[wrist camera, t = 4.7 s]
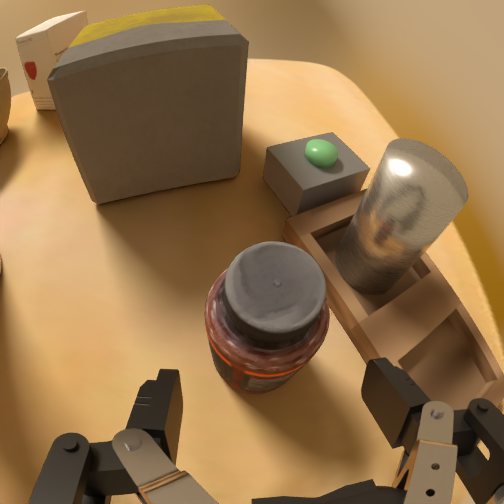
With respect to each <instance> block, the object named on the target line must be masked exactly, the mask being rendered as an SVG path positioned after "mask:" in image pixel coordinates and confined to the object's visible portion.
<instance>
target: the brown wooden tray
mask: <svg viewBox="0 0 504 504" xmlns="http://www.w3.org/2000/svg"><path fill="white" fill-rule="evenodd" d="M366 191H367V189H365V190H362V191H359V192H357V193H354V194H351V195H348V196H346V197H343V198H340V199H338V200H335V201H332V202H330V203H327V204H324V205H322V206H319V207H316V208H314V209H311V210H308V211H306V212H303V213H300V214H298V215H295V216H293V217H290V218H287V219H286V222H285V226H284V230H283V234H282V237H283V238H284V240H285V241H286V243H287V244H291V245H294V246H296V247H299V248H300V249H302V250H304V251H305V252H307V253H308V254H309V255H310V256H311V257H312V258H313V259H314V260H315V261H316V262H317V263H318V265H319V266H320V268H321V270H322V272H323V274H324V278H325V281H326V289H327V291H326V298H327V301H328V305H329V307H330V308H331V310H332V311H333V313H334V314H335V316H336V317H337V319H338V320H339V322H340V323H341V325H342V327H343V328H344V330H345V331H346V333H347V334H348V336H349V337H350V339H351V341H352V342H353V344H354V345H355V347H356V348H357V350H358V352H359V353H360V355H361V356H362V358H363V359H364V361H365V363H366V364H367V363H368V361H369V360H370V359H377V358H383V357H386V358H387V359H388V360H389V361H390V362H391V363H392V364H393V366H397V367H399V368H401V369H402V370H404V371H406V373H407V374H408V375H409V376H410V377H411V379H413V380H414V382H415V383H416V385H418V386H419V387H420V388H421V389H422V391H423V392H424V393H425V394H426V395H427V396H428V397H429V399H430V400H431V401H441V402H444V403H446V404H448V405H449V406H450V407H451V408H452V409H453V410H461V409H467V407H468V405H469V403H470V401H471V400H473V399H476V398H484V399H487V400H489V401H491V402H492V403H493V404H494V405H495V406H496V407H498V406H499V404H500V403H501V402H502V400H503V399H504V374H503V372H502V370H501V368H500V366H499V365H498V363H497V361H496V359H495V357H494V355H493V354H492V352H491V350H490V348H489V346H488V345H487V343H486V341H485V339H484V338H483V336H482V334H481V333H480V331H479V329H478V328H477V326H476V324H475V323H474V321H473V320H472V318H471V316H470V315H469V313H468V312H467V310H466V309H465V307H464V305H463V304H462V302H461V301H460V299H459V298H458V296H457V295H456V293H455V292H454V290H453V289H452V288H451V286H450V285H449V283H448V282H447V280H446V279H445V278H444V276H443V275H442V273H441V272H440V271H439V269H438V268H437V266H436V265H435V264H434V262H433V261H432V260H431V258H430V257H429V256H428V254H427V253H426V252H425V253H424V254H423V255H422V256H421V257H420V258H419V259H418V260H417V262H416V263H415V264H414V265H413V266H412V267H411V268H410V269H409V270H408V271H407V272H406V273H405V274H404V276H403V277H402V278H401V279H400V280H399V281H398V282H397V283H396V284H395V285H394V286H393V287H392V288H391V289H390V290H389V291H387V292H385V293H383V294H379V295H368V294H364V293H361V292H359V291H357V290H355V289H353V288H352V287H351V286H349V285H348V284H347V283H346V282H345V281H344V279H343V278H342V277H341V275H340V273H339V271H338V269H337V266H336V262H335V254H336V249H337V247H338V245H339V243H340V241H341V239H342V238H343V236H344V234H345V232H346V230H347V228H348V226H349V224H350V222H351V220H352V218H353V216H354V214H355V213H356V211H357V209H358V207H359V205H360V203H361V201H362V199H363V197H364V195H365V193H366Z"/></svg>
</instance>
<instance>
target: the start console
mask: <svg viewBox="0 0 504 504" xmlns="http://www.w3.org/2000/svg"><path fill="white" fill-rule="evenodd" d="M369 170H370V168H369V167H368V166H367V165H366V164H365V163H364V162H363V161H362V160H361V159H360V158H359V157H358V156H357V155H356V154H355V153H354V152H353V151H352V150H351V149H350V148H349V147H348V146H347V145H346V144H345V143H344V142H343V141H342V140H340V139H339V138H338V137H337V136H336V135H335V134H334V133H333V132H331V133H326V134H322V135H317V136H312V137H308V138H303V139H299V140H295V141H291V142H286V143H282V144H278V145H274V146H270V147H267V150H266V158H265V165H264V172H263V179H264V180H265V182H266V183H267V184H268V186H269V187H270V188H271V189H272V191H273V192H274V193H275V195H276V196H277V197H278V199H279V200H280V201H281V203H282V204H283V205H284V207H285V208H286V209H287V211H288V212H289V213H290V215H291V216H292V217H293V216H295V215H298V214H300V213H303V212H306V211H308V210H311V209H314V208H316V207H319V206H322V205H324V204H327V203H330V202H332V201H335V200H338V199H340V198H343V197H346V196H348V195H351V194H354V193H357V192H359V191H360V190H361V187H362V185H363V183H364V181H365V179H366V177H367V175H368V172H369Z"/></svg>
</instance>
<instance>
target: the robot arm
mask: <svg viewBox="0 0 504 504" xmlns="http://www.w3.org/2000/svg"><path fill="white" fill-rule="evenodd" d="M0 274H1V256H0ZM361 394H362V398H363V401H364V402H365V404H366V406H367V407H368V409H369V411H370V412H371V414H372V415H373V417H374V419H375V420H376V422H377V424H378V425H379V427H380V429H381V430H382V432H383V434H384V435H385V437H386V439H387V440H388V442H389V444H390V445H391V447H392V449H393V448H396V447H400V446H403V447H404V450H403V452H402V455H401V459H400V462H399V465H398V469H397V472H396V475H395V478H394V481H393V484H392V486H391V487H387V486H376V485H375V483H374V481H373V479H371V480H367V481H364V482H360V483H356V484H351V485H347V486H344V487H342V488H340V489H337V490H335V491H333V492H330V493H328V494H326V495H323V496H321V497H317V498H305V497H288V496H280V497H270V498H257V499H252V504H451V498H452V492H453V485H454V478H455V471H456V473H457V474H458V476H459V477H460V479H461V481H462V482H463V484H464V485H465V487H466V489H467V490H468V492H469V494H470V495H471V497H472V499H473V500H474V502H475V503H476V504H504V415H503V414H502V412H501V411H500V410H499V409H498V408H497V407H496V406H495V405H494V404H493V403H492V402H491V401H489V400H487V399H484V398H476V399H473V400H471V401H470V403H469V405H468V407H467V409H461V410H453V409H452V408H451V407H450V406H449V405H448V404H446V403H444V402H441V401H431V400H430V399H429V397H428V396H427V395H426V394H425V393H424V392H423V391H422V389H421V388H420V387H419V386H418V385H416V383H415V382H414V380H413V379H411V377H410V376H409V375H408V374H407V373H406V371H404V370H402V369H401V368H399V367H397V366H393V364H392V363H391V362H390V361H389V360H388V359H387V358H386V357H383V358H377V359H370V360H369V361H368V363H367V367H366V371H365V375H364V379H363V384H362V388H361ZM182 414H183V397H182V390H181V383H180V375H179V370H177V369H160V370H159V373H158V377H157V380H147V381H146V382H145V383H144V384H143V385H142V386H141V387H140V389H139V392H138V394H137V397H136V400H135V404H134V406H133V409H132V411H131V414H130V417H129V420H128V423H127V426H126V429H125V430H122V431H120V432H119V433H117V434H116V435H115V436H114V438H113V440H112V441H108V442H98V443H89V442H88V440H87V439H86V438H85V437H84V436H82V435H80V434H78V433H66V434H63V435H60V436H59V437H57V438H56V439H55V441H54V442H53V444H52V447H51V449H50V451H49V453H48V456H47V458H46V460H45V463H44V465H43V468H42V470H41V472H40V475H39V477H38V480H37V482H36V485H35V488H34V490H33V493H32V495H31V498H30V501H29V504H110V502H111V496H112V495H123V494H132V493H135V495H136V496H137V497H138V499H139V500H140V502H141V503H142V504H219V503H218V502H217V501H216V500H214V499H213V498H212V497H211V496H210V495H209V494H208V493H207V492H206V491H205V490H204V489H203V488H202V487H201V486H200V485H199V484H198V483H197V482H196V480H195V479H194V478H193V477H192V476H191V475H190V474H189V473H187V472H186V471H182V472H181V471H179V470H178V469H177V467H176V458H177V450H178V442H179V435H180V428H181V421H182ZM480 440H482V442H483V443H484V444H485V445H486V447H487V448H488V449H489V452H490V458H489V460H487V459H486V458H485V456H484V455H483V453H482V452H481V451H480V449H479V448H478V447H477V445H478V443H479V441H480Z"/></svg>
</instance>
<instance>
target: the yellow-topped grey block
mask: <svg viewBox="0 0 504 504" xmlns="http://www.w3.org/2000/svg"><path fill="white" fill-rule="evenodd" d="M248 45H249V42H248V41H247V40H246V39H245V38H244V37H243V36H242V35H241V34H240V33H239V32H238V31H237V30H236V29H235V28H234V27H233V26H232V25H231V24H230V23H229V22H228V21H227V20H226V19H224V17H222V16H221V15H220V14H219V13H218V12H217V11H216V10H215V9H214V8H212V7H211V6H210V5H197V6H185V7H176V8H168V9H161V10H154V11H148V12H142V13H137V14H132V15H127V16H123V17H118V18H113V19H109V20H105V21H102V22H98V23H94V24H90V25H87V26H85V27H84V28H83V29H82V30H81V32H80V33H79V34H78V35H77V37H76V38H75V39H74V40H73V42H72V43H71V44H70V46H69V47H68V48H67V50H66V51H65V52H64V54H63V55H62V56H61V58H60V59H59V61H58V62H57V64H56V65H55V66H54V68H53V69H52V71H51V73H50V75H49V76H48V78H47V82H48V85H49V89H50V92H51V95H52V98H53V101H54V105H55V108H56V111H57V114H58V117H59V119H60V122H61V125H62V128H63V131H64V134H65V136H66V139H67V142H68V144H69V147H70V149H71V152H72V155H73V157H74V160H75V162H76V165H77V167H78V169H79V172H80V174H81V177H82V179H83V181H84V184H85V186H86V188H87V190H88V193H89V195H90V197H91V199H92V201H93V202H95V203H97V204H102V203H106V202H110V201H114V200H119V199H123V198H127V197H132V196H136V195H141V194H146V193H150V192H155V191H160V190H165V189H170V188H175V187H181V186H186V185H191V184H197V183H202V182H208V181H214V180H220V179H226V178H233V177H235V176H236V175H237V174H238V173H239V172H240V157H241V141H242V126H243V112H244V97H245V84H246V70H247V57H248Z"/></svg>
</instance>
